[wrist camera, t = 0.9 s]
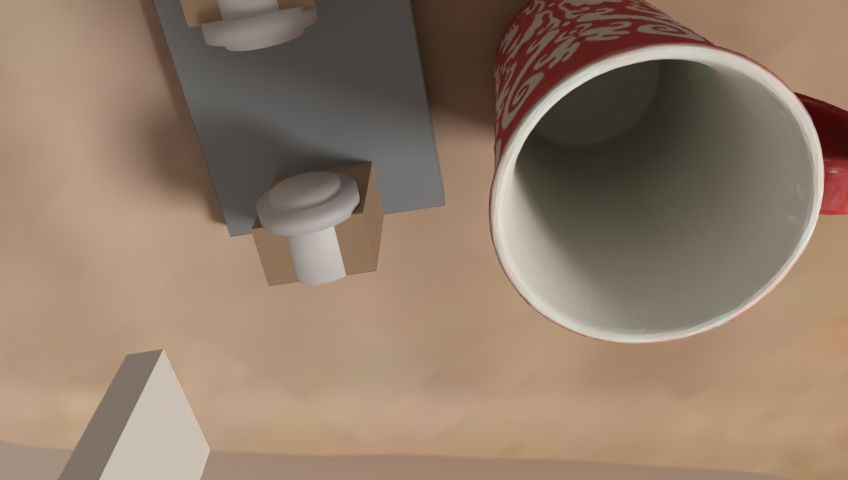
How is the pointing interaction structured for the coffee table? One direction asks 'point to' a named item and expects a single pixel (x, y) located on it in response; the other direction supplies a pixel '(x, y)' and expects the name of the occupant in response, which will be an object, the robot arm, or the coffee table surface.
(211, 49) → the shaft bench
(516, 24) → the mug
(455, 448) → the coffee table surface
